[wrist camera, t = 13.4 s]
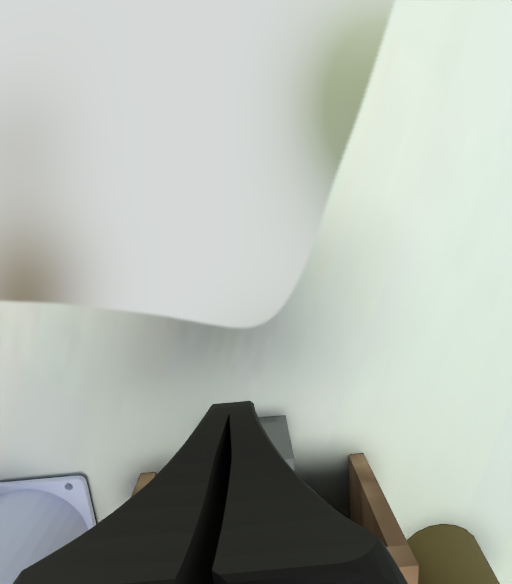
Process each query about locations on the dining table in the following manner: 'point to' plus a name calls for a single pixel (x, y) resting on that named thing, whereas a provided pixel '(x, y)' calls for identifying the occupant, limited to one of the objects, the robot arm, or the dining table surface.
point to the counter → (364, 513)
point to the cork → (449, 557)
